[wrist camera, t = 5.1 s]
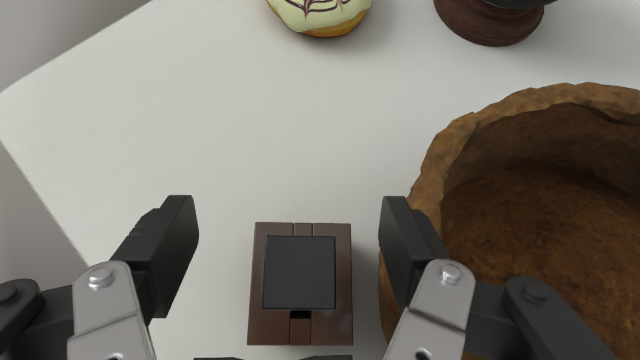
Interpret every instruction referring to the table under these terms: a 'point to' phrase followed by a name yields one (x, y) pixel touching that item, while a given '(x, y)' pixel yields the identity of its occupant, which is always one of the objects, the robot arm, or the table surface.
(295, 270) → the knife
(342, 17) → the decorated donut
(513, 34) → the black ball on stand
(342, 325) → the knife block
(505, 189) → the bowl
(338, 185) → the table surface
